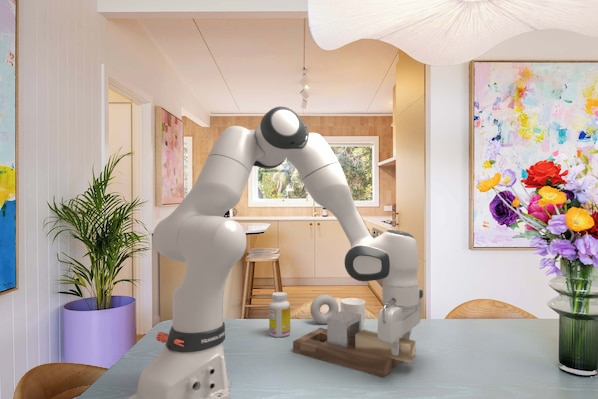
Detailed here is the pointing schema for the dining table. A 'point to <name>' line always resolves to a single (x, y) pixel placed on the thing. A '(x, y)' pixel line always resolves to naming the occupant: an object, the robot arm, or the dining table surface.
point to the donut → (317, 305)
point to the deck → (343, 354)
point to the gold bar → (384, 346)
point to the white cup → (354, 307)
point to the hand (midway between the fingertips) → (400, 350)
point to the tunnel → (342, 329)
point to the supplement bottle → (279, 315)
